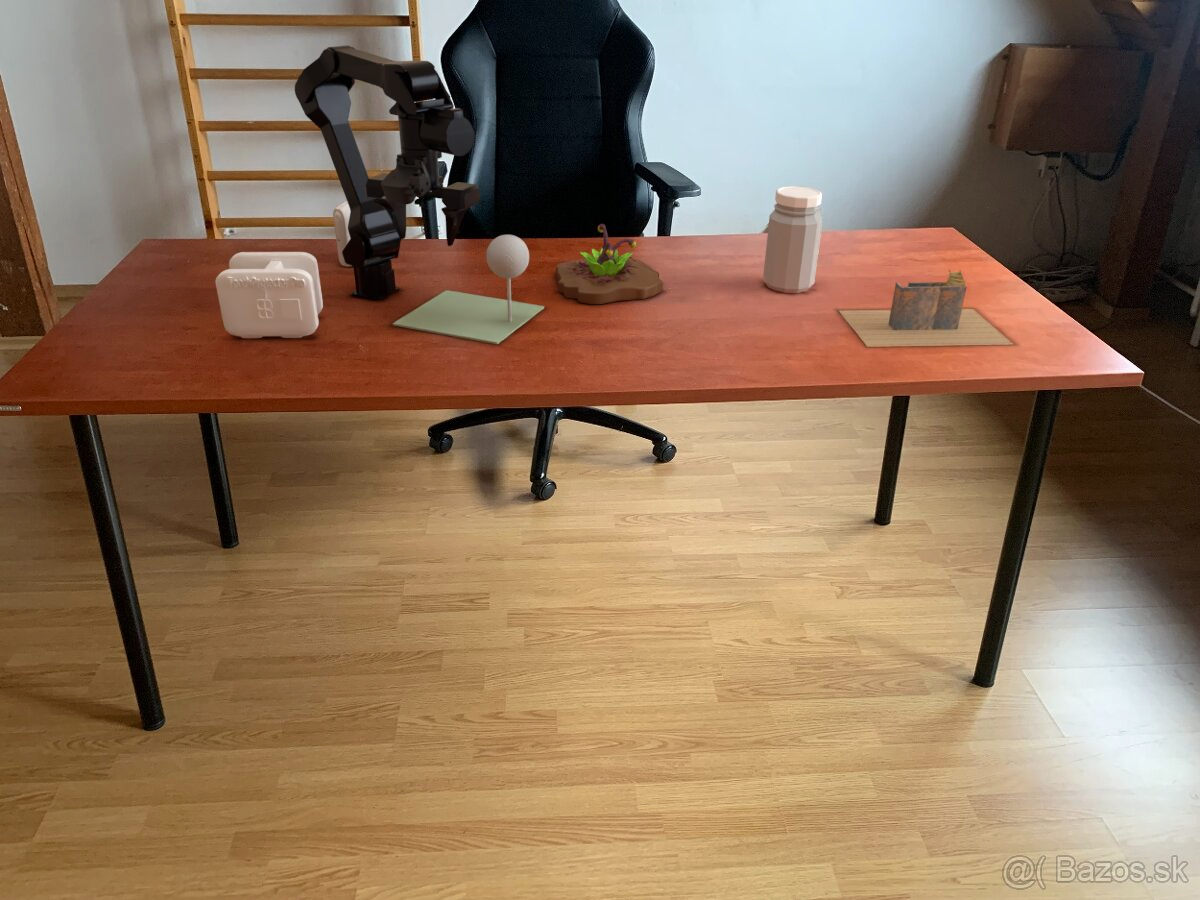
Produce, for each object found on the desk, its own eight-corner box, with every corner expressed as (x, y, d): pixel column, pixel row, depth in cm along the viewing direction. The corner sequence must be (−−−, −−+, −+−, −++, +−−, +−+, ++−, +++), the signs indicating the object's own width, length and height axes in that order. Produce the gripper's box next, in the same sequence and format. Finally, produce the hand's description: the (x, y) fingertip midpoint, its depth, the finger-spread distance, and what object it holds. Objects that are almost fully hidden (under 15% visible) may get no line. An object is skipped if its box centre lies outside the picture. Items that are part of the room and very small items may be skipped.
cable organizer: (330, 316, 163) (321, 251, 157) (317, 340, 153) (308, 272, 148) (241, 317, 162) (229, 251, 156) (224, 341, 153) (210, 272, 147)
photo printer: (349, 268, 185) (341, 206, 178) (335, 264, 187) (327, 202, 181) (390, 256, 192) (384, 195, 186) (376, 252, 194) (370, 192, 188)
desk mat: (392, 325, 160) (392, 323, 159) (446, 292, 174) (446, 289, 174) (497, 344, 153) (497, 342, 153) (544, 308, 168) (544, 306, 168)
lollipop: (527, 312, 165) (525, 228, 157) (534, 327, 159) (532, 240, 151) (486, 315, 163) (482, 230, 156) (492, 330, 157) (488, 243, 150)
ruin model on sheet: (972, 308, 171) (984, 256, 166) (1013, 344, 157) (1027, 288, 152) (838, 310, 169) (846, 258, 164) (867, 346, 155) (876, 290, 150)
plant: (637, 264, 190) (639, 209, 184) (674, 296, 174) (677, 237, 168) (541, 273, 184) (540, 216, 179) (570, 307, 168) (570, 246, 162)
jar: (810, 297, 175) (822, 200, 166) (757, 290, 177) (767, 195, 168) (816, 280, 183) (829, 187, 174) (767, 274, 185) (776, 182, 176)
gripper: (339, 150, 146) (351, 248, 154) (444, 162, 140) (450, 263, 148) (380, 137, 155) (389, 230, 163) (479, 148, 149) (484, 244, 157)
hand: (426, 242), depth 158 cm, fingers open, 9 cm apart
